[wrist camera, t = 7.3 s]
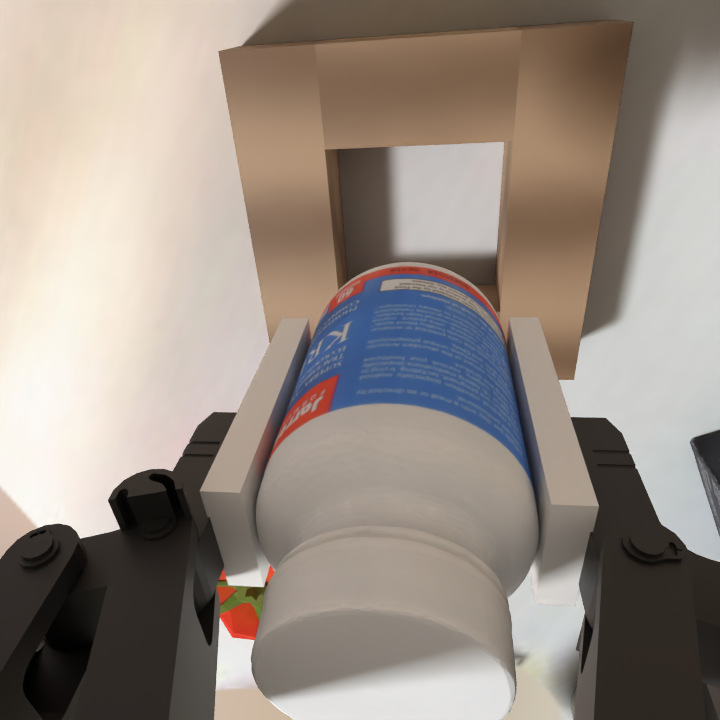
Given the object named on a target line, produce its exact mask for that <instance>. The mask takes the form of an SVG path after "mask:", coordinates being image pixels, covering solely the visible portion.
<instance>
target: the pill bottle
mask: <svg viewBox="0 0 720 720" xmlns="http://www.w3.org/2000/svg"><path fill="white" fill-rule="evenodd" d="M256 526H257V532H258V537H259V542H260V544H261V547H262V549H263V552H264V554H265V556H266V558H267V560H268V562H269V563H270V565H271V567H272V568H273V570H274V571H275V572H274V574H273V576H272V577H271V579H270V581H269V583H268V585H267V587H266V590H265V593H264V602H263V608H262V612H261V617H260V621H259V625H258V630H257V634H256V638H255V641H254V645H253V649H252V655H251V663H252V673H253V677H254V679H255V682H256V684H257V686H258V688H259V689H260V690H261V692H262V693H263V695H264V696H265V697H266V698H267V699H268V700H269V701H270V702H271V703H272V704H273V705H274V706H275V707H277V708H278V709H279V710H280V711H282V712H283V713H285V714H286V715H288V716H289V717H291V718H293V719H294V720H503V719H504V718H505V717H506V716H507V715H508V713H509V712H510V710H511V708H512V705H513V702H514V700H515V696H516V672H515V660H514V650H513V640H512V622H511V615H510V611H509V604H508V599H507V598H508V597H509V596H511V595H512V594H513V593H514V592H515V590H516V589H517V588H518V587H519V586H520V584H521V583H522V582H523V580H524V579H525V577H526V575H527V574H528V572H529V570H530V568H531V565H532V563H533V561H534V558H535V554H536V551H537V544H538V538H539V522H538V514H537V507H536V500H535V494H534V489H533V484H532V479H531V474H530V468H529V463H528V458H527V453H526V448H525V443H524V438H523V433H522V427H521V421H520V416H519V410H518V405H517V400H516V395H515V389H514V384H513V378H512V373H511V368H510V363H509V357H508V351H507V346H506V340H505V336H504V333H503V329H502V326H501V323H500V320H499V318H498V315H497V313H496V311H495V310H494V308H493V306H492V305H491V303H490V302H489V300H488V299H487V298H486V297H485V296H484V294H483V293H482V292H481V291H480V290H479V289H478V288H477V287H476V286H474V285H473V284H472V283H471V282H469V281H468V280H466V279H465V278H463V277H462V276H460V275H458V274H456V273H454V272H452V271H450V270H447V269H445V268H442V267H439V266H435V265H431V264H426V263H418V262H398V263H392V264H386V265H382V266H378V267H375V268H373V269H370V270H368V271H365V272H363V273H361V274H359V275H357V276H356V277H354V278H353V279H351V280H350V281H348V282H347V283H346V284H345V285H344V286H343V287H341V288H340V289H339V291H338V292H337V293H336V294H335V295H334V296H333V297H332V299H331V300H330V301H329V303H328V304H327V306H326V308H325V309H324V311H323V313H322V315H321V317H320V319H319V322H318V324H317V327H316V329H315V332H314V335H313V338H312V341H311V344H310V347H309V349H308V352H307V355H306V358H305V361H304V364H303V367H302V369H301V372H300V374H299V377H298V380H297V383H296V386H295V389H294V392H293V395H292V398H291V400H290V403H289V406H288V408H287V411H286V414H285V417H284V420H283V422H282V425H281V428H280V430H279V433H278V436H277V438H276V441H275V443H274V446H273V449H272V452H271V455H270V457H269V461H268V463H267V466H266V468H265V471H264V477H263V479H262V483H261V486H260V490H259V493H258V498H257V504H256Z"/></svg>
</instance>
